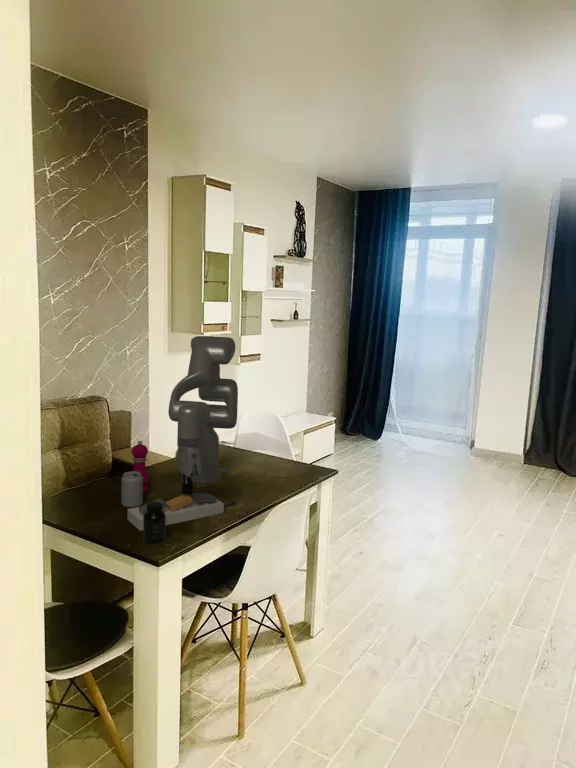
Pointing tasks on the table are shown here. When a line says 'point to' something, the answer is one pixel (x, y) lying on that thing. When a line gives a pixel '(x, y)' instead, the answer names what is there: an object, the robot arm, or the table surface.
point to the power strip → (181, 512)
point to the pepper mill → (141, 462)
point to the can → (132, 489)
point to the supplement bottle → (154, 524)
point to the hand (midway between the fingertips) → (187, 493)
